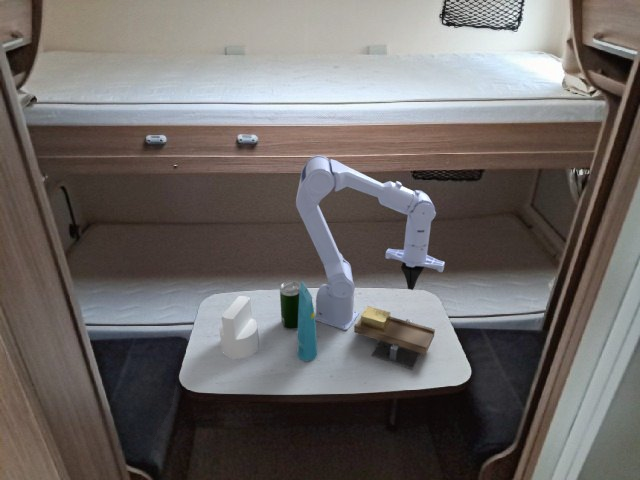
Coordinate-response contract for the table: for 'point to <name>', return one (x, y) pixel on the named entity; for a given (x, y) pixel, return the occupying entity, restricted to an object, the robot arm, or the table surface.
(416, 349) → the beam
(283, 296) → the beer can
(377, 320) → the rider
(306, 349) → the tube
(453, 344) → the table surface
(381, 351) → the beam stand
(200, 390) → the table surface
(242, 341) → the base with upright slab
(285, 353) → the table surface
